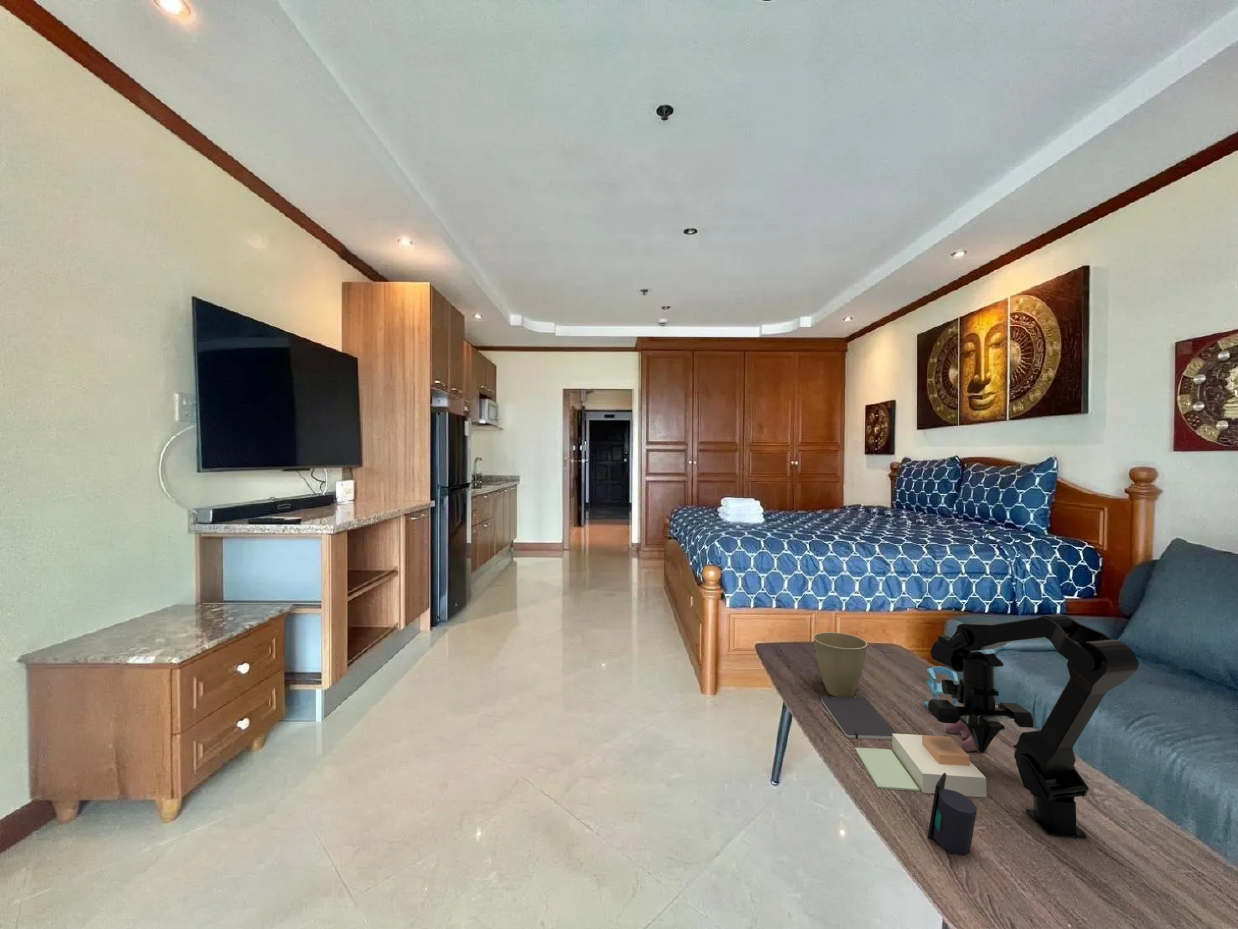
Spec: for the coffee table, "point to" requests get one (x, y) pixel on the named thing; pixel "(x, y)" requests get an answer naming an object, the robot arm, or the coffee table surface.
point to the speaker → (952, 819)
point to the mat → (886, 769)
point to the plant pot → (840, 661)
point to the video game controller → (962, 734)
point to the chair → (937, 687)
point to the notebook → (858, 718)
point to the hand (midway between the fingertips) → (980, 752)
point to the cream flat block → (936, 768)
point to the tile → (945, 750)
